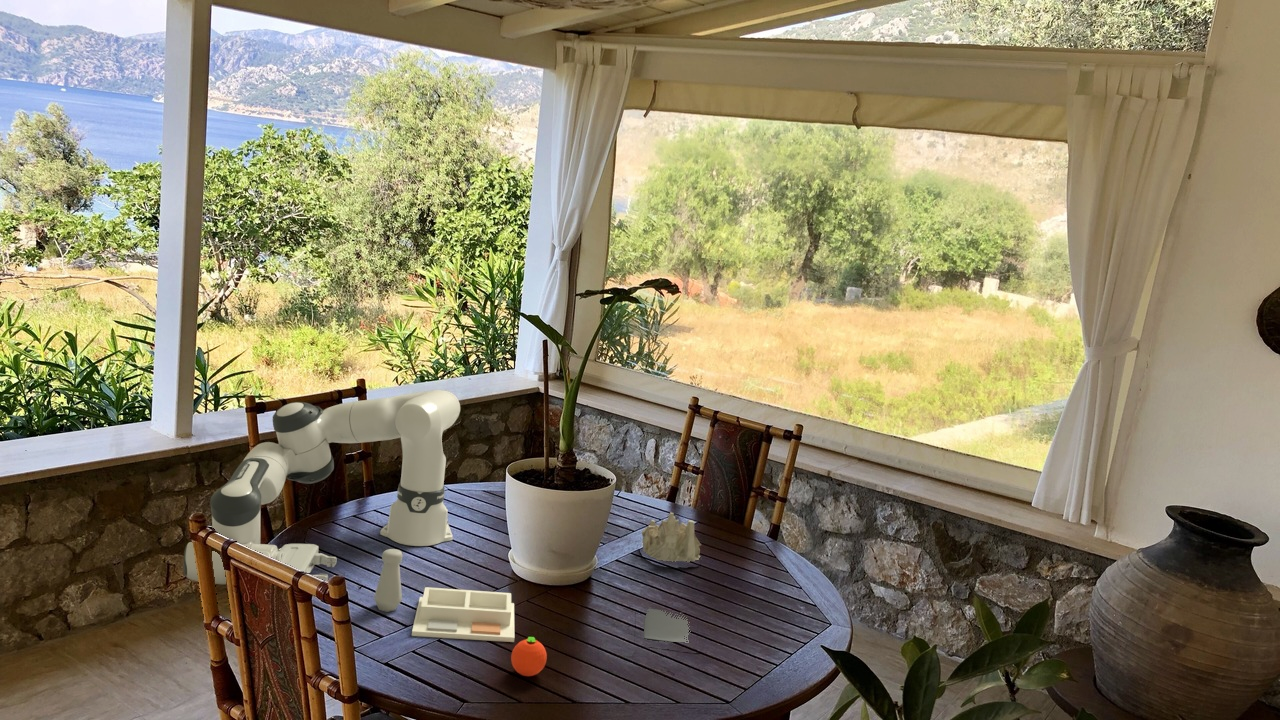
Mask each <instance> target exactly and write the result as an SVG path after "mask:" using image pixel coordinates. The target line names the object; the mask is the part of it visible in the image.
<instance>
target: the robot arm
mask: <svg viewBox="0 0 1280 720" xmlns="http://www.w3.org/2000/svg"><path fill="white" fill-rule="evenodd" d="M460 413H461V403H460V401H459V399H458V397H457V396H456V395H455V394H454V393H452V392H451V391H449V390H443V389H433V390H426V391H419V392H413V393H406V394H401V395H395V396H388V397H383V398H382V397H381V398H374V399H372V398H371V399H365V400H355V401H354V400H353V401H348V402H343V403H339V404H336V405H333V406H330V407H326V408H325V409H322V408H321V407H320V406H318V405H313V404H312V403H308V402H304V401H294V402H290V403H287V404H285V405H283V406H281V407H279V408H278V409H276V411H275V412H274V413H273V414H272V415H273V416H272V425H273V426H272V427H273V430H274V431H275V433H276V437H277V441H278V443H275V442H272V441H271V442H270V441H265V442H261V443H258V444H257V445H255V446H254V447H253V448H252V449H250V451H249V452H248V453H247V454H246V456H245V457H244V459H243V460H242V462H240V463H239V464H238V466H237V468H236V469H235V470H234V472H233V474H232V476H231V477H230V478H229V480H228V481H227V482H226V483H225V484H223V485H222V486H220V488H219V487H218V489H217V490H216V491H214V492H213V494H212V495H211V496H210V501H209V503H210V510H211V511H210V512H211V523H212V526H211V527H212V528H214V529H215V530H216V531H217V532H218V533H220V534H222V535H223V536H225V537H228V538H230V539H233V540H235V541H237V542H238V543H240V544H242V545H244V546H247V547H249V548H251V549H253V550H256V551H258V552H261V553H263V554H264V555H266V556H269V557H272V558H274V559H276V560H279V561H281V562H283V563H286V564H288V565H291V566H293V567H295V568H297V569H299V570H301V571H304V572H307V573H310V574H311V572H312V571H313V569H314V566H315V565H318V566H319V565H324V566H326V567H327V568H335V566H336V565H337V557H336V556H329V555H327V554H324V553H321V552H320V553H319V551H320V550H319V545H317V544H314V543H288V544H287V543H286V544H284V545H283V546H282V547H281V548H278V546H277V545H275V544H267V543H266V544H265V543H261V507H262V505H267V504H270V503H272V502H273V501H275V500H276V499H277V497H278V496H279V495H280V493H281V491H282V490H283V488H284V485H285V482H286V479H287V480H289V481H294V482H298V483H301V484H316V483H319V482H321V481H323V480H325V479H326V478H328V477H329V476H330V475H331V474H332V472H333V471H334V469H335V462H334V457H333V455H332V452H331V448H330V444H331V443H338V444H358V443H359V444H360V443H371V442H372V443H373V442H378V441H381V442H382V441H390V440H393V439H394V440H395V439H400V442H401V449H402V464H401V474H400V475H401V477H400V482H399V484H398V488H397V496H396V497H397V499H396V501H394V502H392V504H391V505H390V507H389V515H388V522H387V524H386V525H384V527H382V528H381V530H380V532H379V535H380V536H382V537H385V538H388V539H390V540H391V541H393V542H396V543H398V544H400V545H405V546H410V547H411V546H414V547H427V546H434V545H438V544H440V543H443V542H451V541H453V538H454V537H453V536H454V535H453V533H452V530H451V528H450V525H449V520H448V514H449V513H448V511H449V510H448V508H447V506H446V505H445V504H444V500H445V495H446V493H445V492H446V491H445V486H444V483H445V482H444V481H445V474H446V466H447V465H446V464H447V457H446V455H445V454H444V451H443V450H444V449H443V442H442V441H443V440H442V439H443V433H444V431H445V430H447V429H449V428H451V427H452V426H453V425H454V424H455V423H456V421H457V419H458V418H459V416H460ZM192 542H193V541H190V542H188V543H187V544H186V545H185V548H184V552H183V562H182V563H183V565H182V566H183V573H184V575H185V577H186V578H187V579H189V580H191V581H195V582H199V581H198V575H197V569H196V563H195V555H194V548H193V543H192ZM212 561H213V569H214V577H215V585H216V584H217V585H227V584H226V577H225V570H224V567H223V562H222V559H221V557H220V555H219V554H218V553H217V552H215V551H212ZM312 575H313V576H315V577H318V578H320V579H323V580H325V581H327V582H328V580H329V574H327V573H321V572H320V573H319V574H312Z"/></svg>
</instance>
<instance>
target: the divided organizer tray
mask: <svg viewBox="0 0 1280 720" xmlns="http://www.w3.org/2000/svg"><path fill="white" fill-rule="evenodd" d="M418 599H419V600H418V604H417V608H416V612H415V617H414V621H413V625H412V630H411V637H423V638H424V637H425V638H443V639H456V640H457V639H458V640H459V639H460V640H473V641H474V640H475V641H489V642H490V641H491V642H505V643H506V642H508V643H509V642H510V643H515V603H514V602H512V593H511V592H500V591H499V592H497V591H486V590H484V591H483V590H473V589H472V590H471V589H457V588H456V589H455V588H443V587H442V588H441V587H428V586H427V587H424V591H423V595H422V596H419V598H418Z"/></svg>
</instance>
